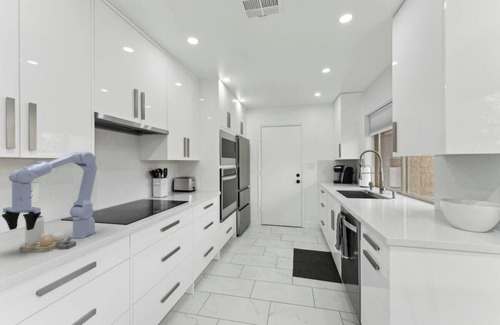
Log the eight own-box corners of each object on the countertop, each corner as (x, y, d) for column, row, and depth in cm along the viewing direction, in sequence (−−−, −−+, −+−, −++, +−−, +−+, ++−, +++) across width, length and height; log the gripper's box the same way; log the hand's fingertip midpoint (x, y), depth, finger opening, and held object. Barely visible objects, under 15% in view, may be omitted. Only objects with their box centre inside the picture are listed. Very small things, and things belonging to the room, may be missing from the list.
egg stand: (66, 244, 102) (66, 241, 102) (77, 244, 102) (77, 241, 102) (55, 249, 97) (55, 245, 97) (67, 249, 96) (67, 245, 96)
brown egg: (36, 248, 95) (36, 238, 95) (46, 244, 99) (46, 234, 99) (46, 248, 94) (46, 238, 94) (55, 244, 99) (55, 234, 99)
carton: (46, 241, 106) (46, 237, 106) (70, 241, 105) (70, 238, 105) (19, 251, 94) (19, 247, 94) (46, 252, 93) (46, 247, 93)
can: (47, 239, 108) (47, 215, 108) (35, 244, 102) (35, 218, 102) (34, 239, 108) (34, 215, 108) (20, 244, 102) (21, 218, 102)
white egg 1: (46, 239, 105) (46, 230, 105) (55, 239, 105) (55, 230, 105) (37, 242, 100) (37, 233, 100) (46, 243, 100) (46, 233, 100)
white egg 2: (58, 239, 105) (58, 230, 105) (67, 240, 105) (67, 230, 105) (49, 243, 100) (49, 233, 100) (58, 243, 100) (58, 233, 100)
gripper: (-6, 199, 89) (-6, 232, 89) (28, 199, 88) (28, 232, 88) (13, 196, 96) (13, 226, 96) (45, 196, 95) (45, 227, 96)
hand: (21, 229), depth 93 cm, fingers open, 7 cm apart
